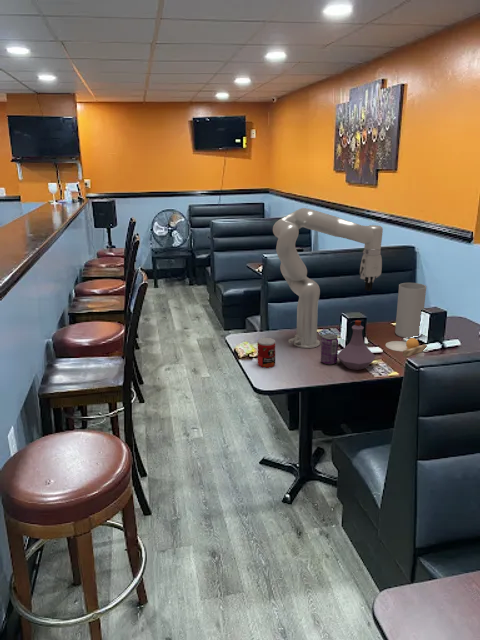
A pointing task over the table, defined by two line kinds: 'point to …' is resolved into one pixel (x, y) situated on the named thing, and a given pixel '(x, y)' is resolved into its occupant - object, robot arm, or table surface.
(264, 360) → the canned food
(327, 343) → the beverage can
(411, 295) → the cylinder vase
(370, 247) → the robot arm
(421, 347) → the stopper rail
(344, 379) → the table surface
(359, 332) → the flask
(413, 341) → the ball
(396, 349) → the mark
